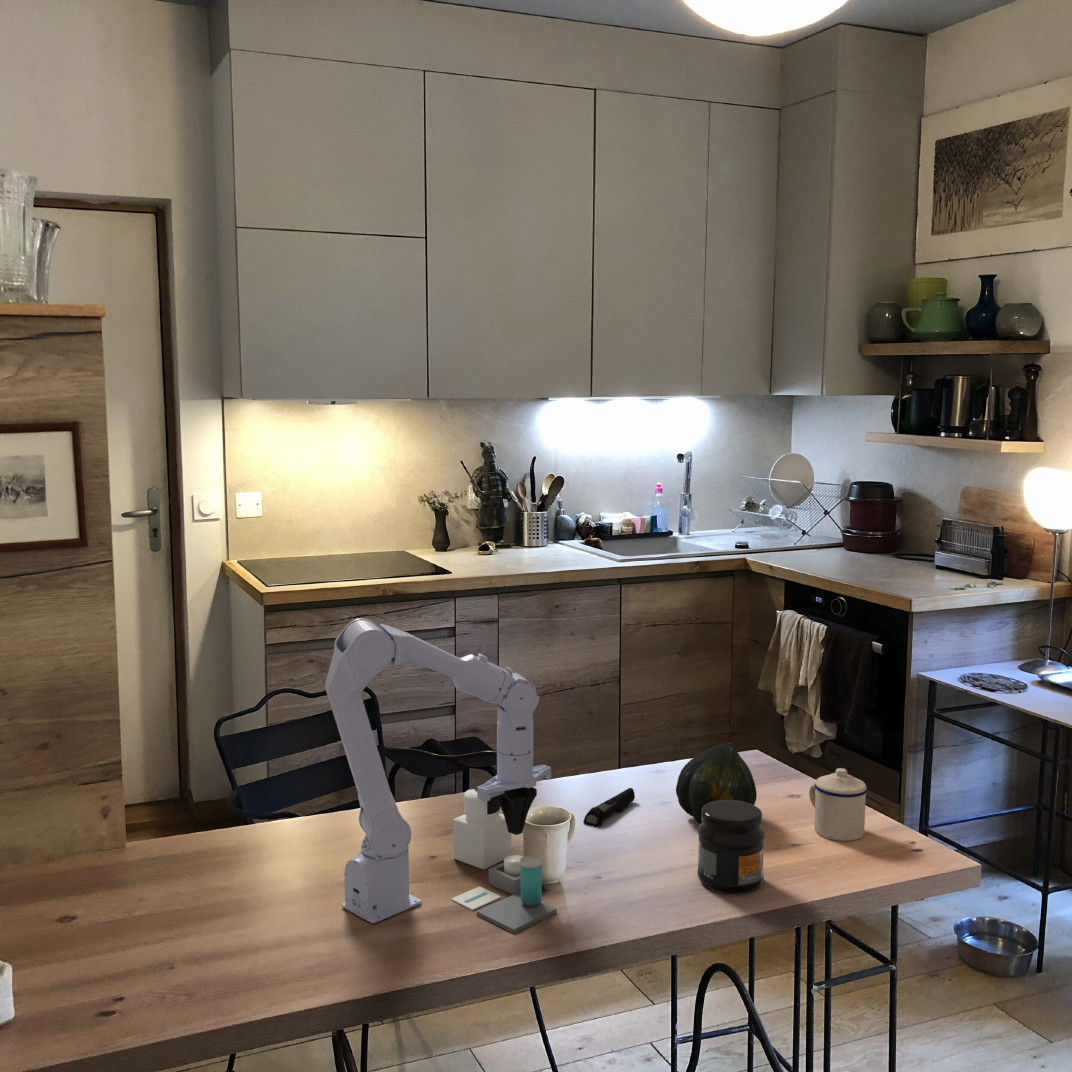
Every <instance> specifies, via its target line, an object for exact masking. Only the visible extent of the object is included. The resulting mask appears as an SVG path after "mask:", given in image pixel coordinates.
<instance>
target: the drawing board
mask: <svg viewBox="0 0 1072 1072" xmlns="http://www.w3.org/2000/svg"><path fill="white" fill-rule="evenodd" d="M556 913H557V908H555V907H553V906H551V905H549V904H547V903H545V902H543V901H541V902H540V904H539V906H537V907H533V908H529V907H525V906H524V905H523V903H522V902H521V892H518V893H516V894H514V895H512V894H511V895H509V896H508V897H506V898H502V899H501V900H499V901H496V902H494V903H491V904H489V905H487V906H485V907H483V908H479V909H478V910H476V916H478V917H479V918H483V920H486V921H488V922H490V923H493V924H494V925H496V926H498V927H501V928H502V929H504V930H506V931H509V932H511V933H512V934H515V933H517V932H520V931H521V930H524V929H526V928H528V927H529V926H532V925H534V924H536V923H538V922H540V921H542V920H544V919H546V918H548V917H550V916H552V915H554V914H556Z"/></svg>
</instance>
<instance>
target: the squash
mask: <svg viewBox="0 0 1072 1072" xmlns="http://www.w3.org/2000/svg"><path fill="white" fill-rule="evenodd" d="M675 792H676V797H677V800H678V804H679V807H680V808H681V809H682V810H684V812H685V813H686V814H688V815H689V816H691V817H693V819H694V821H695V823H697V824H698V825H699V826H700V824H701V823H702V808H703V806H704V805H705V804H707V803H709V802H712V801H717V800H737V801H743V802H747V803H750V804H752V805H755V804H756V802H757V794H758V793H757V788H756V784H755V780H754V776H753V773H752V772H751V769H750V767H749V766H748V764H747V763H746V762H745V760H744V759H743V758H742V757H741V754H739V752H738V750H737V749H736V747H735V746H733V744H732V743H731V742H728V743H726V742H725V743H719V744H717V745H714V746H712V747H710V748H708V749H706V750H704V751H702V752H701V753H699V754H697V755H696V756H695V757H693V758H692V759H690V760H689V761H688V762H686V764H685V765H684V766H683V768H682V769H681V771H680V773H679V775H678V778H677V783H676V786H675ZM755 806H756V805H755Z"/></svg>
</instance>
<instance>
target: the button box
mask: <svg viewBox="0 0 1072 1072" xmlns="http://www.w3.org/2000/svg"><path fill="white" fill-rule="evenodd" d="M488 884H489V885H491V886H493V887H495V888H498V889H499V890H501V891H503V892H506V893H508V894H511V896H512V895H514V894H516V893H518V892H521V875H519V876H517V877H513V876H511V875H509V874H506V873H504V862H502V863H498V864H497V865H493V867H492V866H491V867H489V868H488Z"/></svg>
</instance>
